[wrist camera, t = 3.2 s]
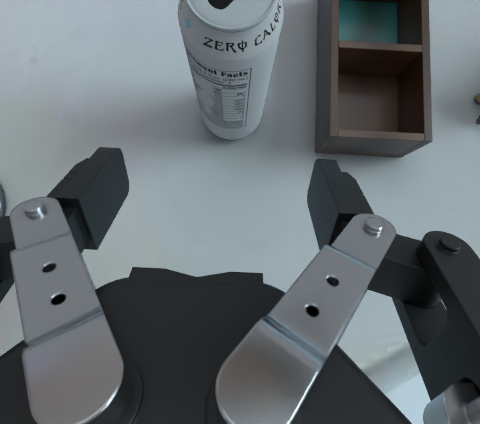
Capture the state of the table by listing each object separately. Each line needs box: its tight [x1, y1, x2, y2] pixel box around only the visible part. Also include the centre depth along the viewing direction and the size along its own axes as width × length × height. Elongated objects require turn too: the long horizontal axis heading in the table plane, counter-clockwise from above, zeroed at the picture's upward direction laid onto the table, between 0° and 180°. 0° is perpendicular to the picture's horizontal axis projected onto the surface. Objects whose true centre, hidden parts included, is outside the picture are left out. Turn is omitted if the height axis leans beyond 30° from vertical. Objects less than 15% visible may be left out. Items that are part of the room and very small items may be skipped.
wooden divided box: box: [315, 0, 432, 157], centre depth 28 cm, size 9×17×5 cm, turn 177°
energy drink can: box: [178, 0, 284, 140], centre depth 22 cm, size 6×6×15 cm
